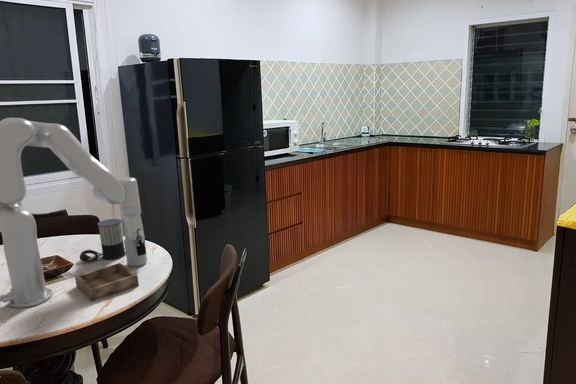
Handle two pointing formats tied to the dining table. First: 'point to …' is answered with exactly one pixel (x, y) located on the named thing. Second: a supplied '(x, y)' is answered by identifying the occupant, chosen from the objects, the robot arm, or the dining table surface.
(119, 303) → the dining table surface
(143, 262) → the can
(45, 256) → the dining table surface
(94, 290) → the tray
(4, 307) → the dining table surface
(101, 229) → the milk frother
